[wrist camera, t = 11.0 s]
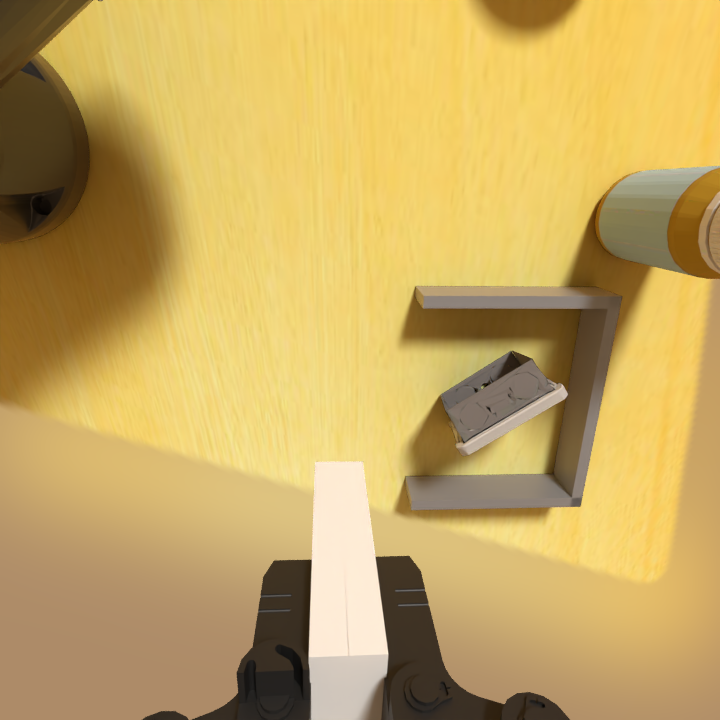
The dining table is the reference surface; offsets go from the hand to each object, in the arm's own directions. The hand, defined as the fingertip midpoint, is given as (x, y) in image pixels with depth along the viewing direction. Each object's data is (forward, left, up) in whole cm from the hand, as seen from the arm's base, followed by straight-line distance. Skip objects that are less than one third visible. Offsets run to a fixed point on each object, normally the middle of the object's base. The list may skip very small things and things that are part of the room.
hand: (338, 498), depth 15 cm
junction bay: (+8, +15, -28) cm, 32 cm away
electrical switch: (+7, +13, -28) cm, 32 cm away
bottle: (-8, +25, -28) cm, 38 cm away
